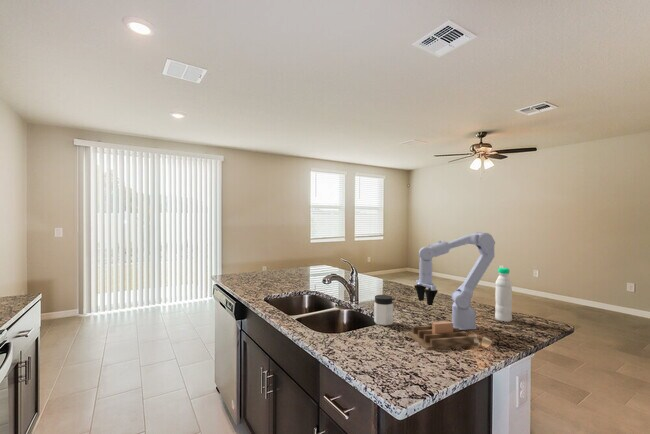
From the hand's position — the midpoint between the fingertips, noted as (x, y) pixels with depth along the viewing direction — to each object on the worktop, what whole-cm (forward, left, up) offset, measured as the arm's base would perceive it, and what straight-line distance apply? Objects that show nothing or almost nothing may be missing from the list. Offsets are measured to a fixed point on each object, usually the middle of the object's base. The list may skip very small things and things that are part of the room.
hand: (425, 302), depth 144 cm
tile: (+3, +18, -9) cm, 20 cm away
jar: (+18, -6, -10) cm, 21 cm away
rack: (+3, +18, -10) cm, 21 cm away
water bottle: (-41, +1, -10) cm, 42 cm away
